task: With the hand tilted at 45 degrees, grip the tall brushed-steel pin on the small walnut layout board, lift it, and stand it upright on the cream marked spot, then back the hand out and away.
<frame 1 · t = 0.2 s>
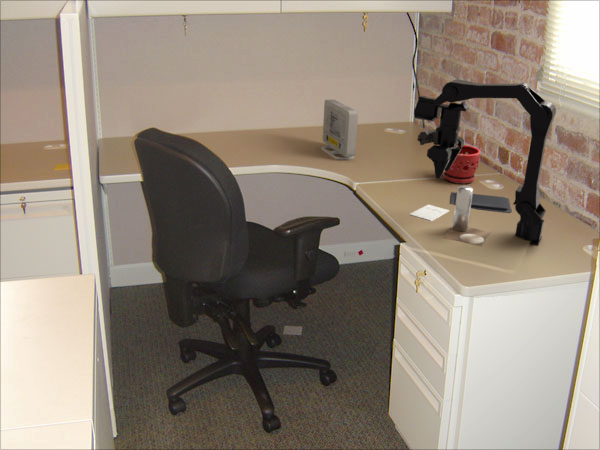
hand: (442, 174, 193), 15 cm above the table, tool pointing down, fingers open, 9 cm apart
network device: (337, 153, 266), on the table
external hard drive: (429, 217, 203), on the table
layout board: (466, 237, 187), on the table
steel pin: (459, 229, 190), point 1 cm above the table, touching layout board
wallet: (479, 204, 215), on the table
plant pot: (458, 180, 237), on the table
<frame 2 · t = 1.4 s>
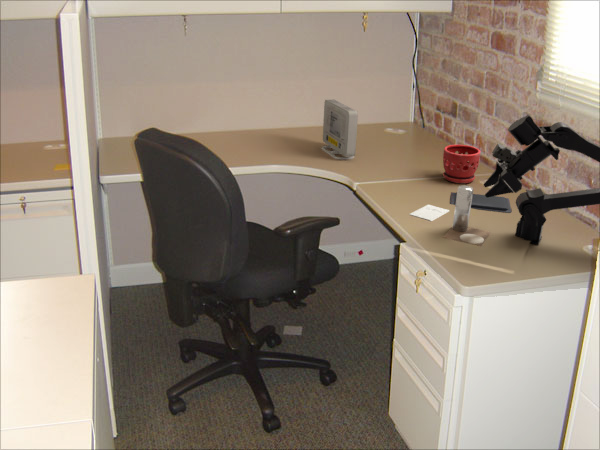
hand: (485, 191, 184), 13 cm above the table, tool tilted 45°, fingers open, 9 cm apart
nothing on the table moved.
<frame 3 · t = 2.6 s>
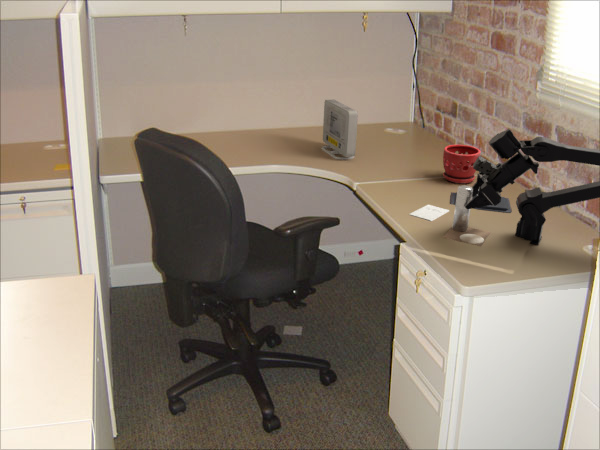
hand: (465, 202, 187), 9 cm above the table, tool tilted 45°, fingers open, 9 cm apart
nothing on the table moved.
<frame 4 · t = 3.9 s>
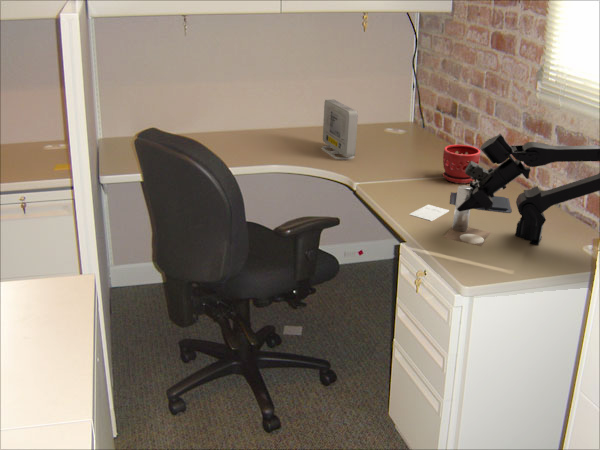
hand: (457, 207, 188), 8 cm above the table, tool tilted 45°, fingers closed on steel pin, 4 cm apart
steel pin: (459, 229, 190), point 1 cm above the table, touching gripper, layout board
everything else where it was.
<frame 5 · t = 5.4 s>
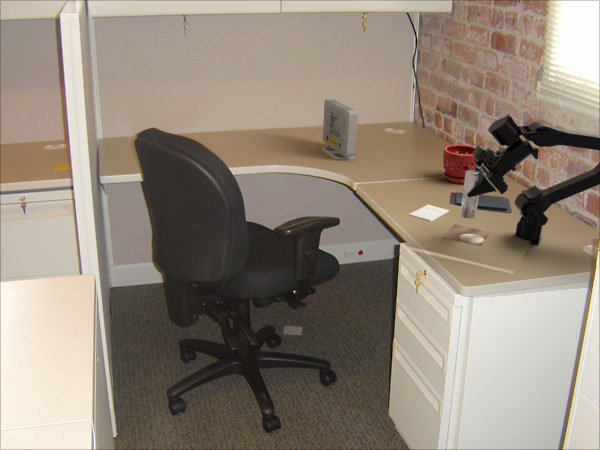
hand: (466, 193, 182), 13 cm above the table, tool tilted 45°, fingers closed on steel pin, 4 cm apart
steel pin: (467, 215, 184), point 7 cm above the table, touching gripper
everything else where it was.
when the fingers open (9 cm above the table, at t = 7.1 s): steel pin drops 1 cm, resting on layout board.
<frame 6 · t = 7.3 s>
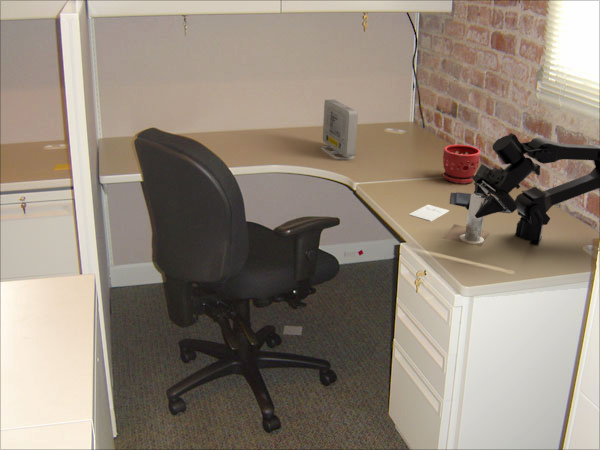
hand: (471, 212, 180), 9 cm above the table, tool tilted 45°, fingers open, 6 cm apart
steel pin: (472, 238, 183), point 1 cm above the table, touching layout board
everything else where it was.
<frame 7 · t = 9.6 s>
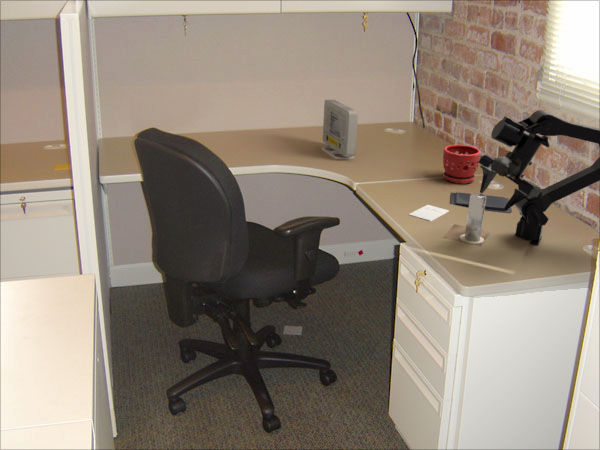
hand: (492, 201, 182), 11 cm above the table, tool tilted 25°, fingers open, 9 cm apart
nothing on the table moved.
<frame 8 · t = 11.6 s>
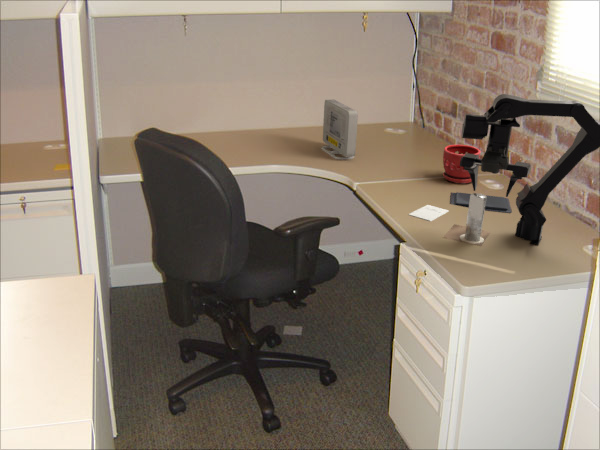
hand: (490, 193, 184), 13 cm above the table, tool pointing down, fingers open, 9 cm apart
nothing on the table moved.
at the end: steel pin 0.1 cm from the target spot on the layout board, point 1.0 cm above the layout board's base; steel pin tilted 0°; the gripper is holding nothing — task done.
